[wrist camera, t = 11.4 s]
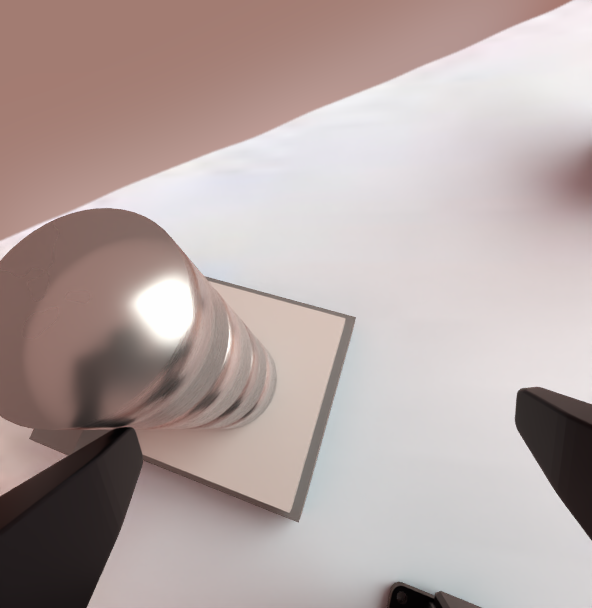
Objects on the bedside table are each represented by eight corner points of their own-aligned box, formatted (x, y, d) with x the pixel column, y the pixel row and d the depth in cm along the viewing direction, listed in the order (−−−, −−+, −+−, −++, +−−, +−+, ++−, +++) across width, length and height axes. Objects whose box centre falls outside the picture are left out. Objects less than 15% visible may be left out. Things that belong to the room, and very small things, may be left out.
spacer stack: (287, 412, 18) (208, 386, 7) (194, 441, 18) (-43, 463, 7) (264, 323, 20) (170, 183, 8) (179, 349, 20) (-29, 243, 8)
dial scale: (302, 512, 19) (289, 547, 14) (97, 431, 22) (20, 435, 16) (353, 326, 22) (359, 296, 17) (168, 274, 25) (122, 235, 19)
